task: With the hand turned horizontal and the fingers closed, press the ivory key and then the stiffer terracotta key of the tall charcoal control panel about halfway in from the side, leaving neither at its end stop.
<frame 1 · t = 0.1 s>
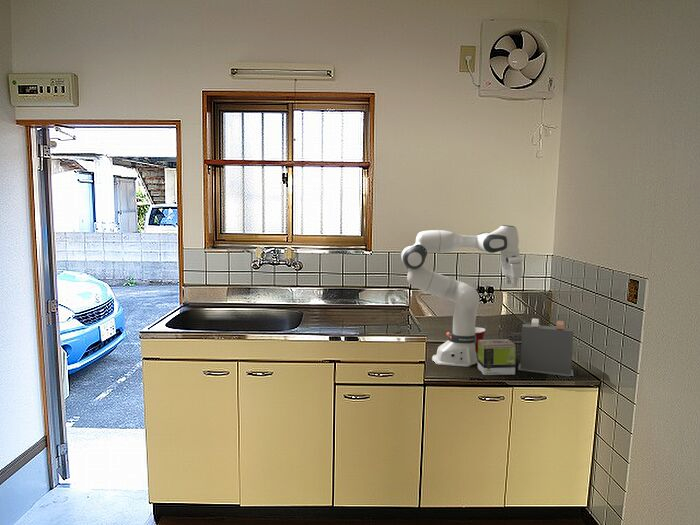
hand: (511, 285, 236), 39 cm above the countertop, tool pointing down, fingers open, 8 cm apart
terracotta key: (559, 329, 225), point 20 cm above the countertop, slide at 0.0 cm
ivory key: (535, 327, 229), point 20 cm above the countertop, slide at 0.0 cm
tea box: (495, 372, 225), on the countertop
control panel: (545, 370, 226), on the countertop
plastic cup: (474, 351, 259), on the countertop
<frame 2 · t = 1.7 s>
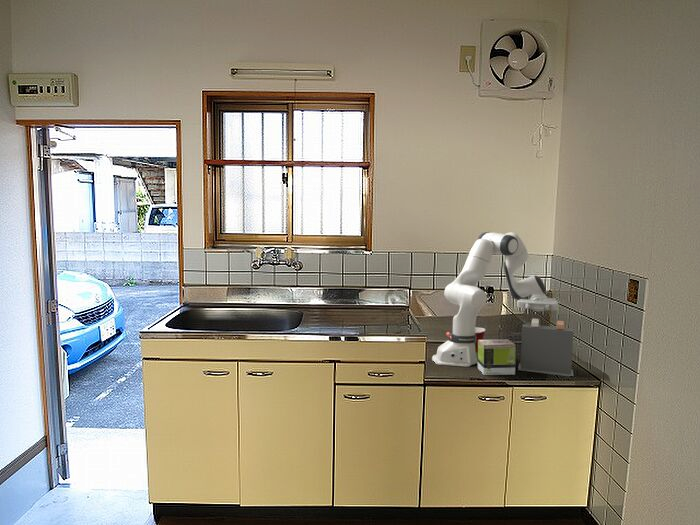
hand: (536, 307, 244), 26 cm above the countertop, tool horizontal, fingers open, 6 cm apart
nothing on the countertop moved.
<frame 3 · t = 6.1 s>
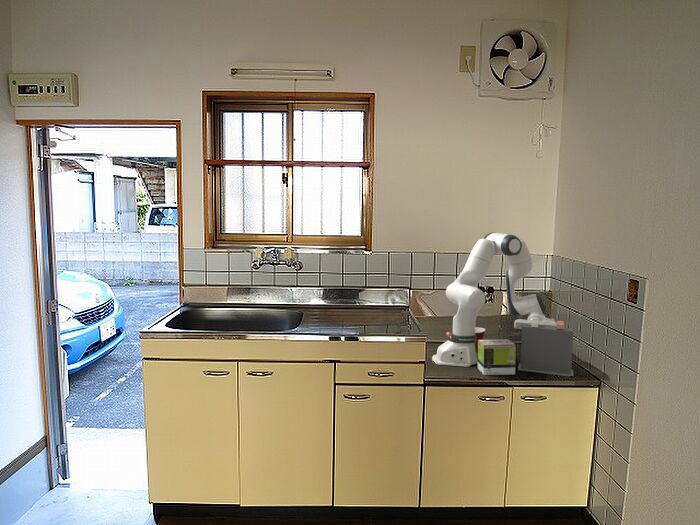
hand: (534, 329, 233), 18 cm above the countertop, tool horizontal, fingers closed, pressing on ivory key
ivory key: (534, 328, 228), point 20 cm above the countertop, slide at 0.8 cm, touching gripper
everything else where it was.
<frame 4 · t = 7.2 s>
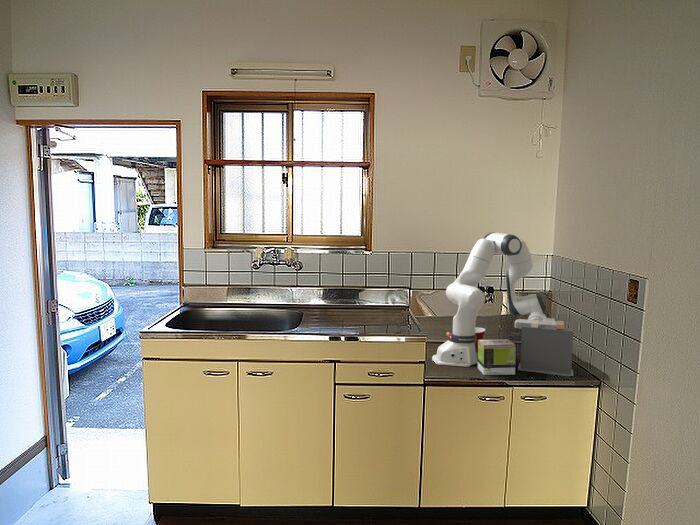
hand: (535, 328, 233), 18 cm above the countertop, tool horizontal, fingers closed
ivory key: (534, 328, 228), point 20 cm above the countertop, slide at 1.6 cm
everything else where it was.
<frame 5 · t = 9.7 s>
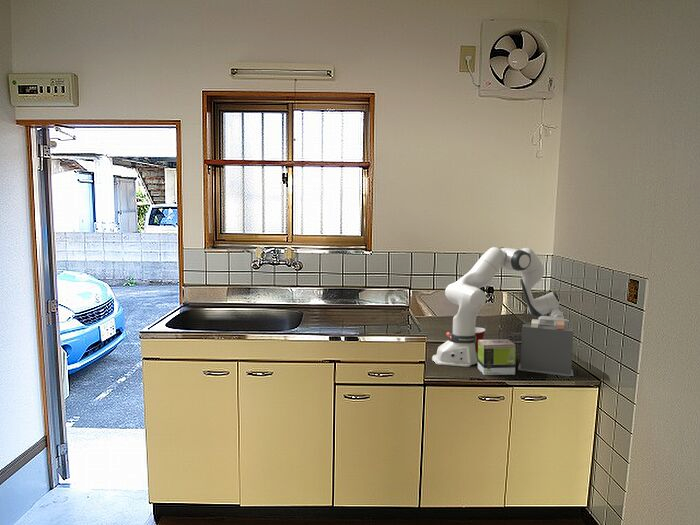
hand: (559, 325, 240), 18 cm above the countertop, tool horizontal, fingers closed
nothing on the countertop moved.
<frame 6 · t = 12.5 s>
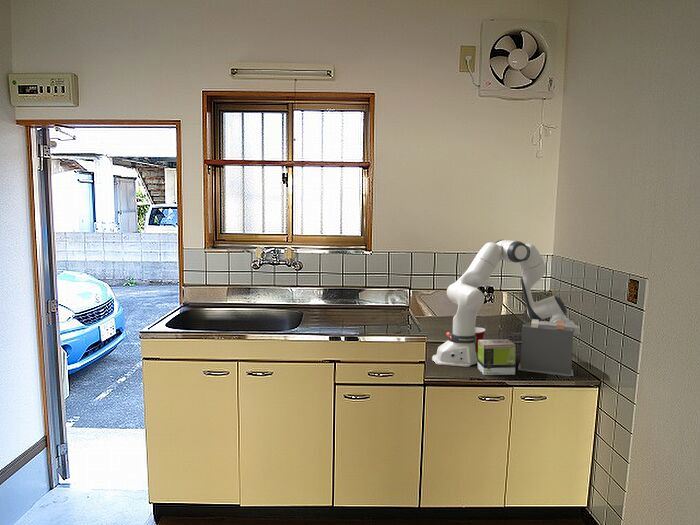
hand: (559, 331, 229), 18 cm above the countertop, tool horizontal, fingers closed, pressing on terracotta key
terracotta key: (559, 330, 224), point 20 cm above the countertop, slide at 0.8 cm, touching gripper
everything else where it was.
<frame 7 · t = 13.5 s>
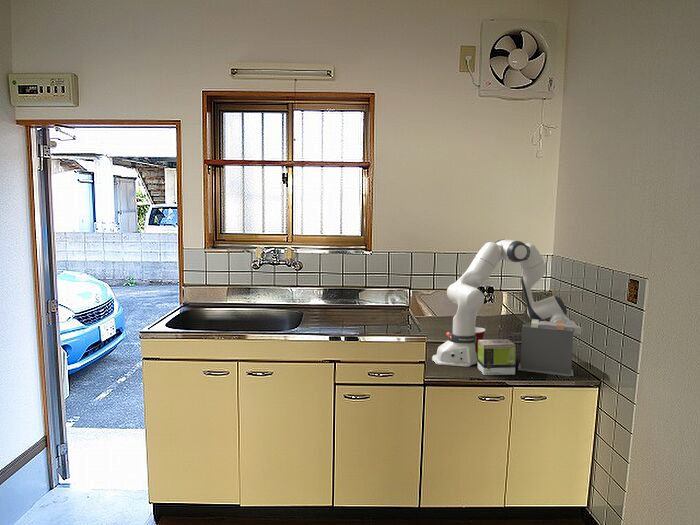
hand: (559, 331, 229), 18 cm above the countertop, tool horizontal, fingers closed
terracotta key: (559, 330, 224), point 20 cm above the countertop, slide at 1.5 cm
everything else where it was.
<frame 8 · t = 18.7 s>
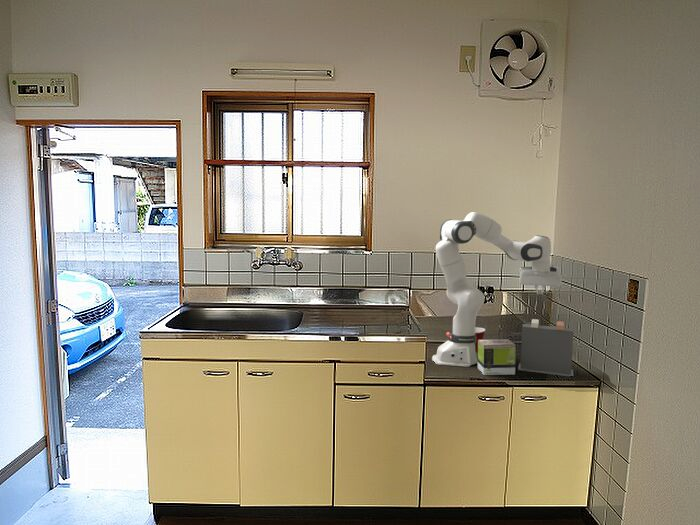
hand: (539, 294, 245), 33 cm above the countertop, tool pointing down, fingers closed
nothing on the countertop moved.
at the end: ivory key slide at 1.6 cm; terracotta key slide at 1.5 cm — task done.
